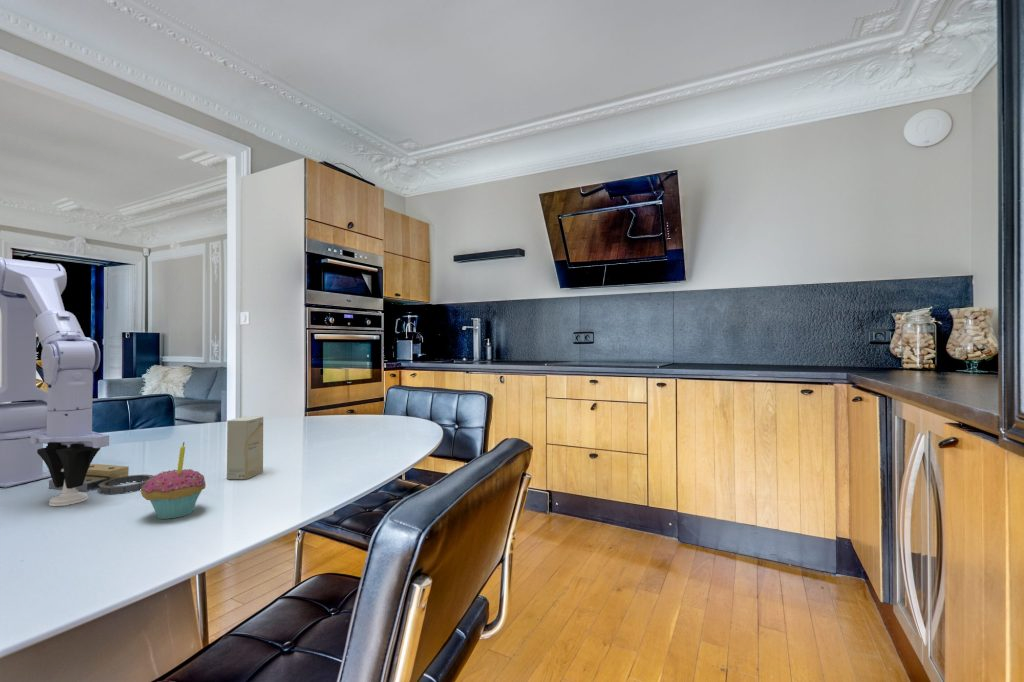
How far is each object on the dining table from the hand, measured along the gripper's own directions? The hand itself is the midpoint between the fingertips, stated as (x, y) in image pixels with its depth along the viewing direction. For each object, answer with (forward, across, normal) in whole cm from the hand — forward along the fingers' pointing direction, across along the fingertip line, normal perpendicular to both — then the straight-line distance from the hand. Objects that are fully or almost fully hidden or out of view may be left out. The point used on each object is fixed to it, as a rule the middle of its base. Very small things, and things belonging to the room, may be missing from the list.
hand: (68, 486), depth 80 cm
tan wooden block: (+2, -7, +11) cm, 13 cm away
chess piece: (+3, 0, 0) cm, 3 cm away
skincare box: (+3, +18, +20) cm, 27 cm away
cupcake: (+3, +23, -1) cm, 23 cm away
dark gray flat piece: (+3, -3, +8) cm, 9 cm away
